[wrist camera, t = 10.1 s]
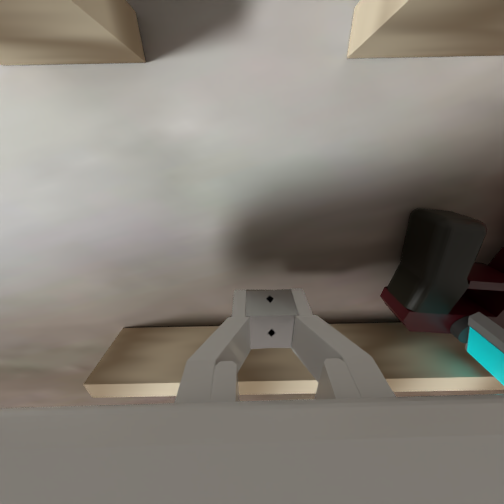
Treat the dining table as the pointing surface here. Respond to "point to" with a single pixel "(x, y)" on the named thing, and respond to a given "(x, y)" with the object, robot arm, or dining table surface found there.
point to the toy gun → (451, 285)
